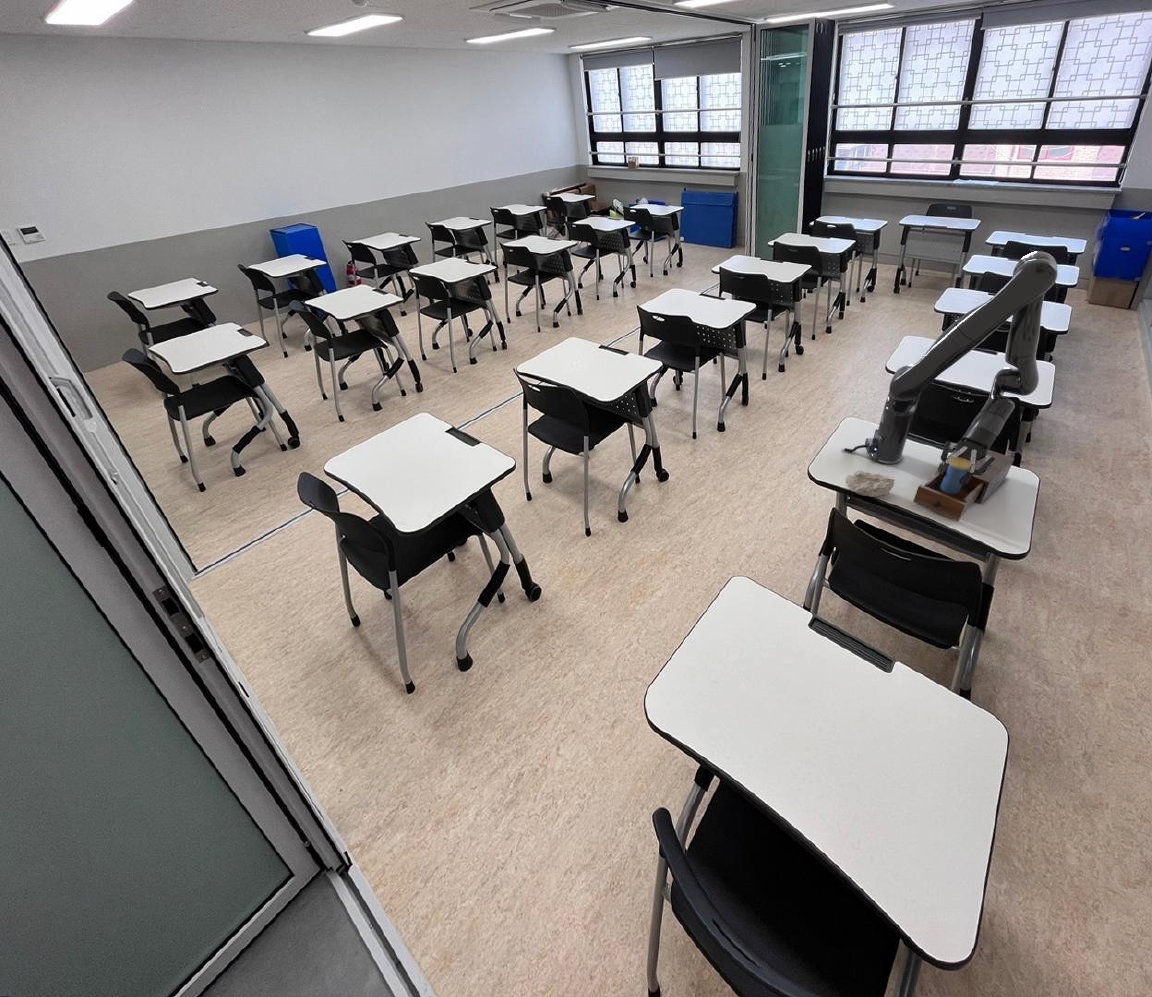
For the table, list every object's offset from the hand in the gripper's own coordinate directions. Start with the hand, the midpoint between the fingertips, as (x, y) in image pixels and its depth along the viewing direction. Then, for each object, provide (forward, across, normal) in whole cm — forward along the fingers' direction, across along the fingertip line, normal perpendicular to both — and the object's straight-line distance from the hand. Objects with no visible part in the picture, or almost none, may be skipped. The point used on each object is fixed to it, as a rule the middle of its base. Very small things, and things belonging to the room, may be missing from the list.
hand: (951, 479), depth 172 cm
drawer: (+5, 0, +8) cm, 10 cm away
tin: (+2, 0, +4) cm, 5 cm away
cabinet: (-5, 0, +20) cm, 21 cm away
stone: (+14, -20, +1) cm, 24 cm away
